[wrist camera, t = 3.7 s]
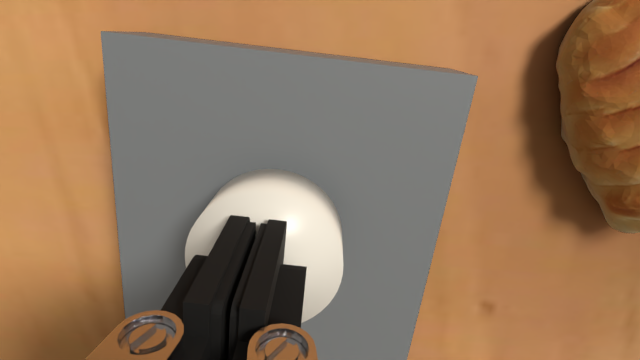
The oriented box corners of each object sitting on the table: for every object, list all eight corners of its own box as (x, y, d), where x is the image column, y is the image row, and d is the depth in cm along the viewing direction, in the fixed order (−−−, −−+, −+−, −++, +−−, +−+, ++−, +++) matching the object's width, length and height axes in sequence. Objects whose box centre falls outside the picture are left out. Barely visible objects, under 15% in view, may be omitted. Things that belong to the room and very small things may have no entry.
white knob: (347, 152, 15) (354, 202, 11) (332, 254, 17) (332, 336, 12) (229, 138, 15) (183, 182, 11) (226, 242, 17) (185, 319, 12)
